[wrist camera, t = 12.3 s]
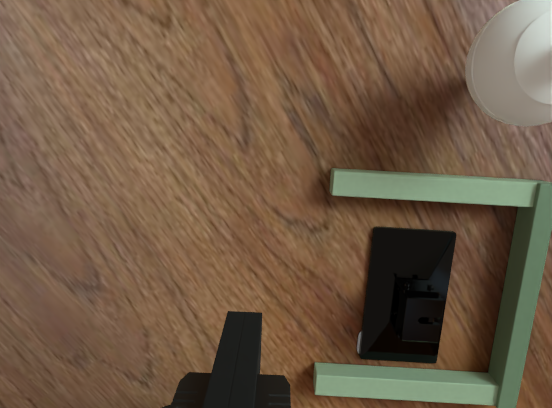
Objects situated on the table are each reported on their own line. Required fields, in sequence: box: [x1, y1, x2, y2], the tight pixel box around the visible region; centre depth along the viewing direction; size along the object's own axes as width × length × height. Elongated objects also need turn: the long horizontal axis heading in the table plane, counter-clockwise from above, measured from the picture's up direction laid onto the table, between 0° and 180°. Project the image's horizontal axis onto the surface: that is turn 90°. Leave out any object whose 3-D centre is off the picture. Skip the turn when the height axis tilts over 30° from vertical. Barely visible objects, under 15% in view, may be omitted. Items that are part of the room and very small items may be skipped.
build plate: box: [357, 227, 456, 363], centre depth 34 cm, size 12×7×5 cm, turn 176°
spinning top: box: [465, 0, 552, 126], centre depth 27 cm, size 8×8×12 cm
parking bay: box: [313, 168, 552, 408], centre depth 35 cm, size 20×18×2 cm
